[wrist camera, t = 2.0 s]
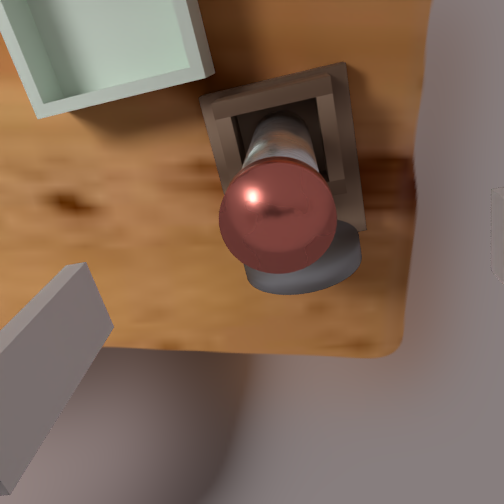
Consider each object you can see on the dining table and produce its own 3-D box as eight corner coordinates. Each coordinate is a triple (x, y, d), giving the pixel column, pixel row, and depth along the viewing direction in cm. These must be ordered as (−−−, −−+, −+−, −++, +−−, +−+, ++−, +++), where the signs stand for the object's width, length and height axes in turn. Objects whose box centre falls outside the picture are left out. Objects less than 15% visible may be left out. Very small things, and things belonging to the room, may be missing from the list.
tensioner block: (202, 95, 31) (170, 116, 23) (342, 61, 29) (365, 71, 21) (243, 250, 36) (229, 315, 28) (364, 229, 35) (389, 291, 26)
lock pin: (242, 114, 30) (205, 177, 16) (308, 99, 29) (327, 152, 16) (256, 177, 32) (234, 281, 18) (319, 165, 31) (344, 263, 18)
